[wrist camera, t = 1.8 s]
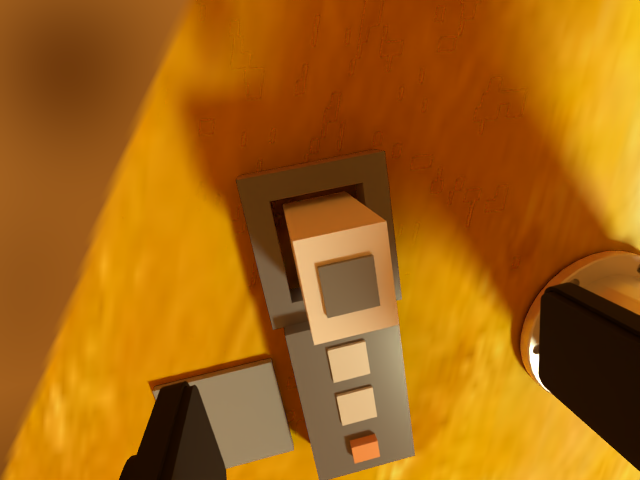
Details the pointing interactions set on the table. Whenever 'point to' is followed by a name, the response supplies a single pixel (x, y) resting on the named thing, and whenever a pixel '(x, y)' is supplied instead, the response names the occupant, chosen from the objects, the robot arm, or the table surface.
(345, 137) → the table surface
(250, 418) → the rubber mat
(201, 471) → the robot arm
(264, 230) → the charging dock
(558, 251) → the table surface
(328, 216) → the plug
